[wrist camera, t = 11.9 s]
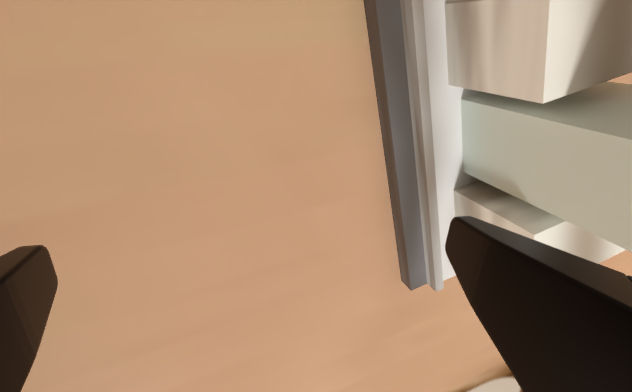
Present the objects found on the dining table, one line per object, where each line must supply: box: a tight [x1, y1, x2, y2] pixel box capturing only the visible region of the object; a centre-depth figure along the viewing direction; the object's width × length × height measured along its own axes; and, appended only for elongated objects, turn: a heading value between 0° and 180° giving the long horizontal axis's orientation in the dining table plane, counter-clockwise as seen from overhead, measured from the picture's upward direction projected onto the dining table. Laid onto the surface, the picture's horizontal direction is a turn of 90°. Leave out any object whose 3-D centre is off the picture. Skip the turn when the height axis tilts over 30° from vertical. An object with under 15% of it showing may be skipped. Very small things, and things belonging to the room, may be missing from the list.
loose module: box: [461, 82, 632, 252], centre depth 18 cm, size 6×4×11 cm
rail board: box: [364, 0, 632, 292], centre depth 21 cm, size 14×20×8 cm
